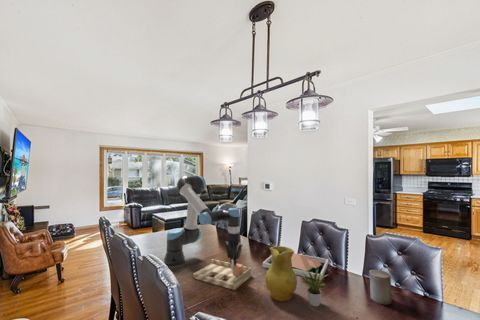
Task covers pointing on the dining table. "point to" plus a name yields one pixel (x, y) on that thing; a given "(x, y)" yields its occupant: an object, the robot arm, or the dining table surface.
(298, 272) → the serving tray rim
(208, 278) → the cube sorting tray
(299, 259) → the house
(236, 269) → the salmon block
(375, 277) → the pillar candle
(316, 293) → the house plant
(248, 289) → the dining table surface
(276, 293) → the pitcher
